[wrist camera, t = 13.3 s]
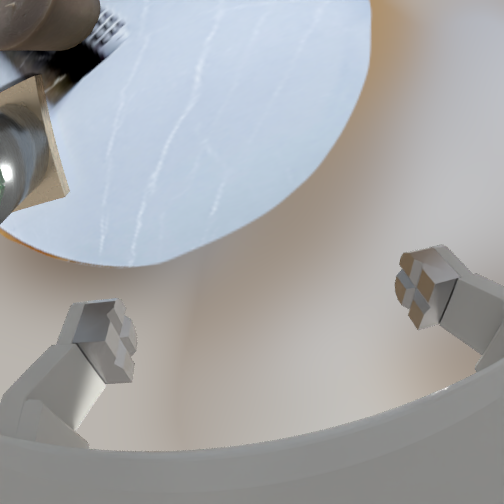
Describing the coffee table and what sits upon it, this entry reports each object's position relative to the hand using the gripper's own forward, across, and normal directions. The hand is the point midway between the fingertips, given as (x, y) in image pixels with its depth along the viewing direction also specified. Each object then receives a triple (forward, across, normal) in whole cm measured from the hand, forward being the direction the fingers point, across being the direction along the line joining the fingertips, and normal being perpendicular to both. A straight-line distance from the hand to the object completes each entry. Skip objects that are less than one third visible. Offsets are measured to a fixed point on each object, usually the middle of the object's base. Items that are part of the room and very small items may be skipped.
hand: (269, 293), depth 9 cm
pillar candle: (+34, +18, -18) cm, 43 cm away
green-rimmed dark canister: (+34, +30, -2) cm, 45 cm away
